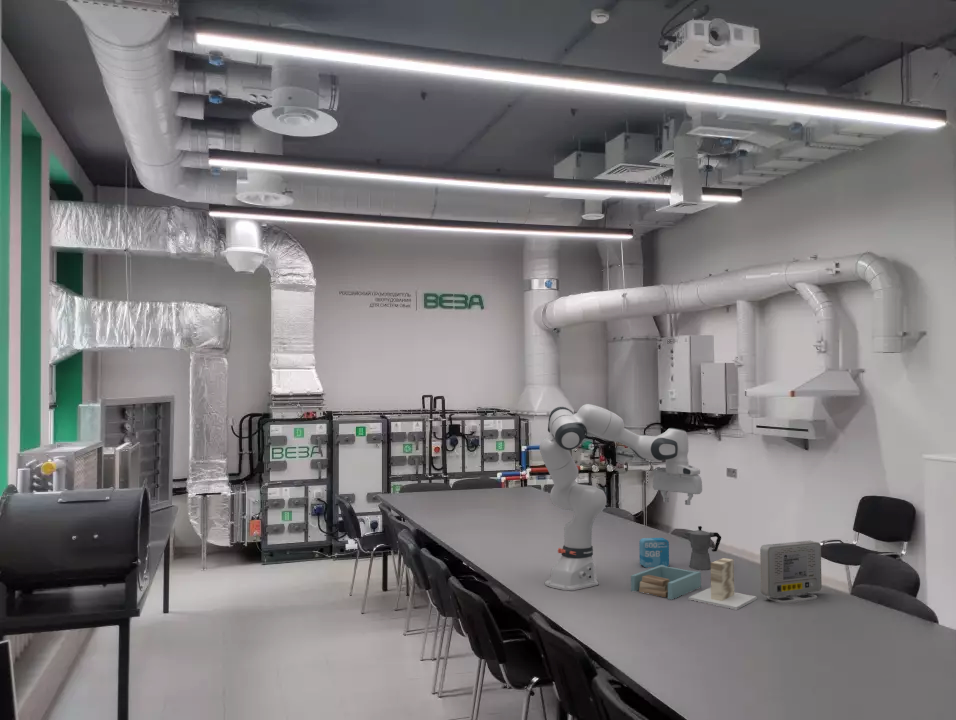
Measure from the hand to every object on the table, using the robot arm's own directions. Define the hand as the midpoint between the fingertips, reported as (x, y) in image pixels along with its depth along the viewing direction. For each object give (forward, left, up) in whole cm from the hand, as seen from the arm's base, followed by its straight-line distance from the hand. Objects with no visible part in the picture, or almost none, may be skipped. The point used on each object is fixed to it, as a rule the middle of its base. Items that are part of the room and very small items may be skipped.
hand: (676, 503), depth 288 cm
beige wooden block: (-8, -22, -31) cm, 39 cm away
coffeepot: (+33, +5, -32) cm, 46 cm away
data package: (+21, +22, -32) cm, 44 cm away
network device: (+12, -40, -32) cm, 53 cm away
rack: (-10, 0, -32) cm, 34 cm away
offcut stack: (-18, 0, -32) cm, 37 cm away
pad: (-8, -22, -32) cm, 40 cm away
